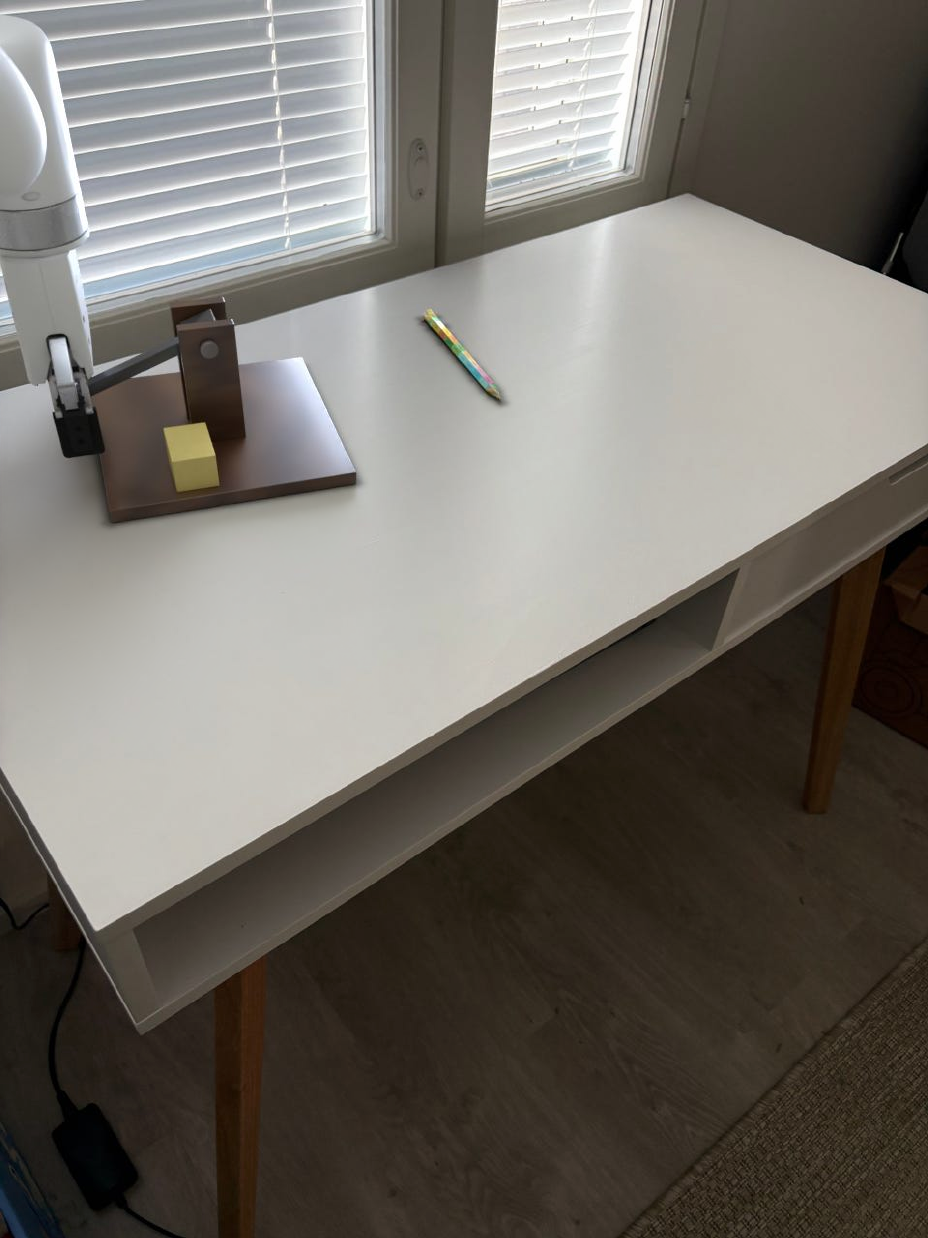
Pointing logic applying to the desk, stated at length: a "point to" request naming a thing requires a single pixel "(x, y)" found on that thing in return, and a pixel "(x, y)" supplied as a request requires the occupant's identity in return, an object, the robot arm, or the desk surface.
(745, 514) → the desk surface
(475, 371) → the pencil
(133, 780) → the desk surface
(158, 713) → the desk surface
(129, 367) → the lever
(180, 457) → the butter
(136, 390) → the slicer
